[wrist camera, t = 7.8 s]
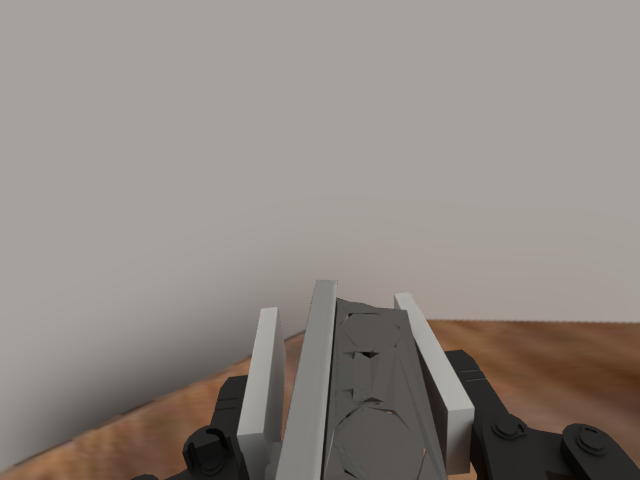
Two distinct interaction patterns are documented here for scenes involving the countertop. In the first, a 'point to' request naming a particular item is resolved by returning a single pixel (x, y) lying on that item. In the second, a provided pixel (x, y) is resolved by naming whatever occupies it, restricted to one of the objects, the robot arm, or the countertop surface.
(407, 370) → the electrical switch
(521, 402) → the countertop surface
